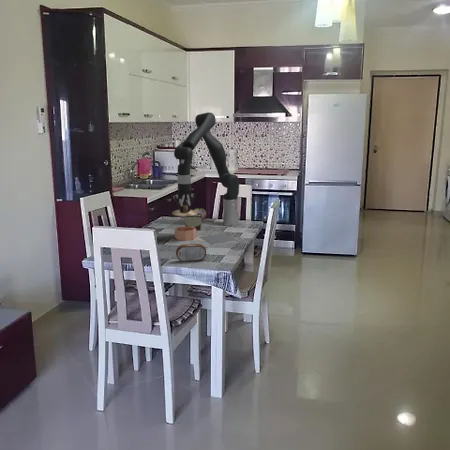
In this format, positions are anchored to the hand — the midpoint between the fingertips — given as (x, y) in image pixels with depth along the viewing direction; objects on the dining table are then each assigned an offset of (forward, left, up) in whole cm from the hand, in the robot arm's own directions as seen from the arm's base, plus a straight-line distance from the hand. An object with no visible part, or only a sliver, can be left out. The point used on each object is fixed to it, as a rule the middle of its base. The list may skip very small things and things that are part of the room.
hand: (184, 211), depth 267 cm
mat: (-16, +11, -16) cm, 25 cm away
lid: (0, 0, -1) cm, 1 cm away
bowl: (0, 0, -16) cm, 16 cm away
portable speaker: (+13, +40, -16) cm, 45 cm away
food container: (-13, -18, -16) cm, 27 cm away
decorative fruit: (-25, -36, -16) cm, 47 cm away
